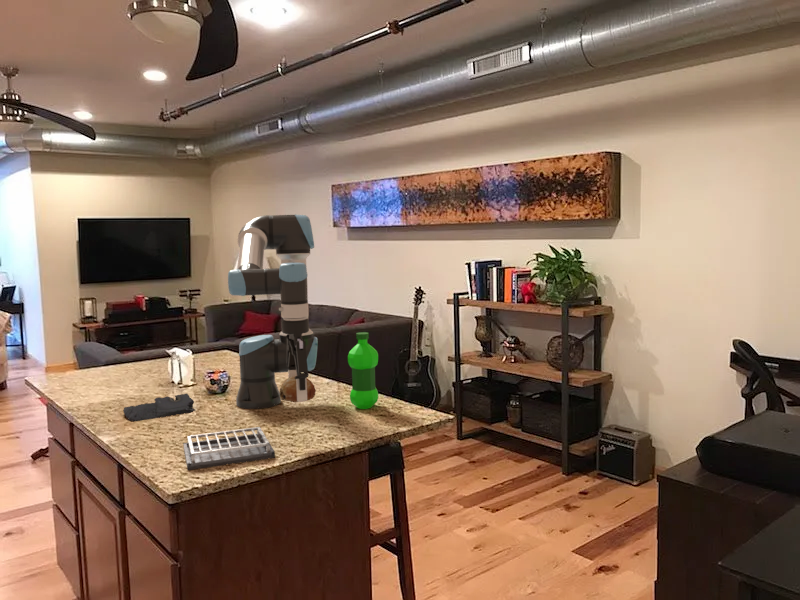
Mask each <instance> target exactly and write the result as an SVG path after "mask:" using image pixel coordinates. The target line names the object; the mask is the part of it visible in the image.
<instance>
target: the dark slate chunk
mask: <svg viewBox="0 0 800 600" xmlns="http://www.w3.org/2000/svg"><path fill="white" fill-rule="evenodd" d="M174 398H175V399H174ZM194 404H195V401H194V400H193V398H191V397H190V395H189V394H188V393H182V394H177V395H174V397H171V396H164V397H160V396H158V397H156V398H154V402H150V403H148V402H147V403H141V404H137V405H129V406H125V407H123V414H124V415H125V417H126V419H128V421H130V422H142V421H147V420H153V419H160V417H161V418H167V417H172V416H171V415H173V416H177V415H176V414H179V415H185V414H189V413H191V412H192V413H193V412H195V411H196V410H195V409H194V408H193V407H194ZM184 413H185V414H184ZM192 413H191V414H192ZM166 416H167V417H166Z"/></svg>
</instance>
